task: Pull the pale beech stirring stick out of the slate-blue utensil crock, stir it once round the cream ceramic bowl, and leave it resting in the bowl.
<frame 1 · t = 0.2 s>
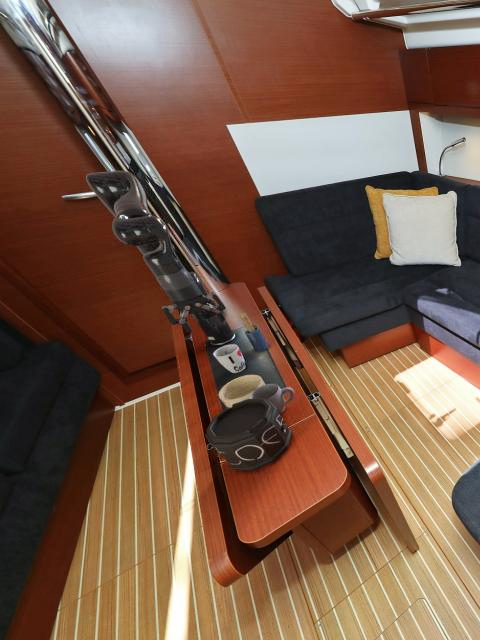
hand: (207, 326, 110), 29 cm above the table, tool pointing down, fingers open, 8 cm apart
mug: (281, 409, 119), on the table
bowl: (250, 400, 122), on the table
cup: (238, 369, 136), on the table
crock: (262, 348, 148), on the table
dark octagonal canister: (265, 449, 105), on the table
stick: (261, 347, 147), resting on crock
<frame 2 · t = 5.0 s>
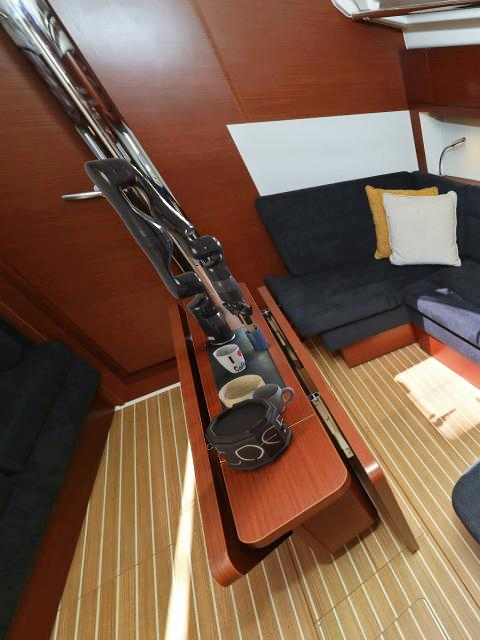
hand: (247, 323, 139), 14 cm above the table, tool pointing down, fingers closed on stick, 2 cm apart
stick: (261, 347, 147), point 1 cm above the table, touching crock, gripper
everything else where it was.
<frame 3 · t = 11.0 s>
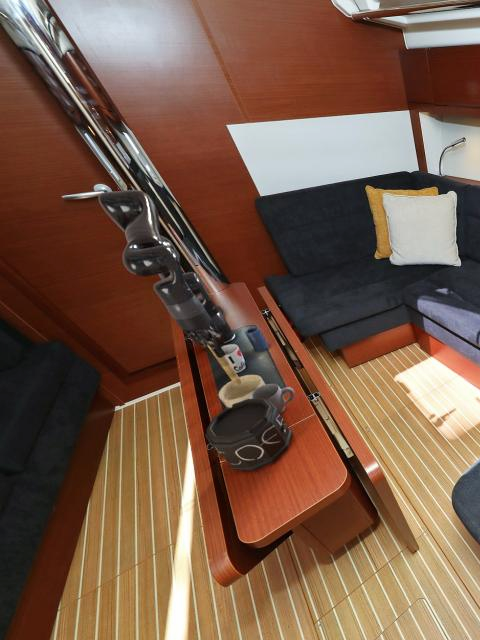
hand: (218, 355, 109), 22 cm above the table, tool pointing down, fingers closed on stick
stick: (238, 383, 117), point 9 cm above the table, touching gripper
everything else where it was.
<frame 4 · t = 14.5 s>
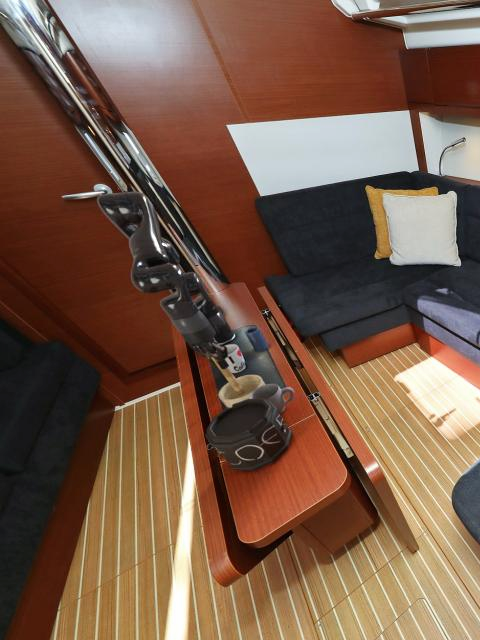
hand: (222, 367, 112), 17 cm above the table, tool pointing down, fingers closed on stick
stick: (241, 393, 120), point 4 cm above the table, touching gripper
everything else where it was.
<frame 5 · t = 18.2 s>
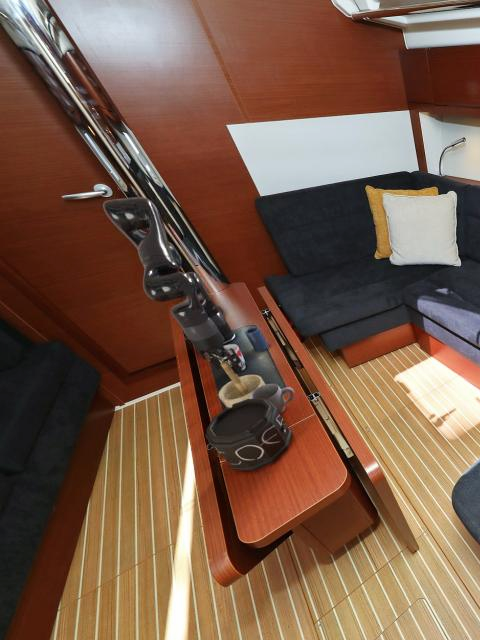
hand: (229, 370, 113), 15 cm above the table, tool pointing down, fingers open, 8 cm apart
stick: (249, 399, 122), point 1 cm above the table, touching bowl
everything else where it was.
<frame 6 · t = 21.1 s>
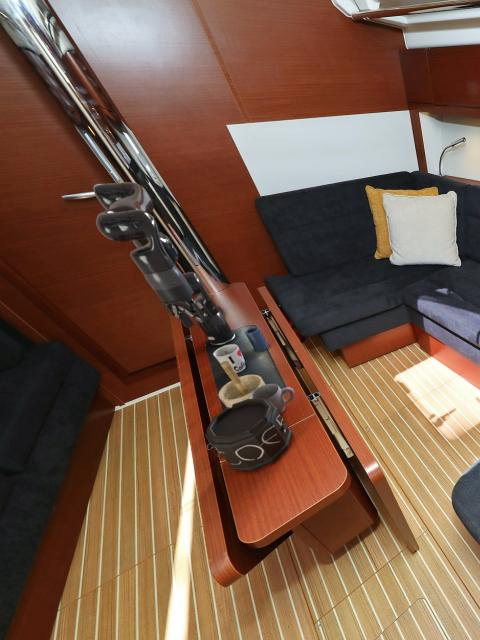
hand: (200, 328, 104), 32 cm above the table, tool pointing down, fingers open, 8 cm apart
nothing on the table moved.
at the end: stick inside the target area in the bowl (0.0 cm from its centre), point 0.6 cm above the bowl's base; the gripper is holding nothing; stick moved 35.1 cm from its start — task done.
